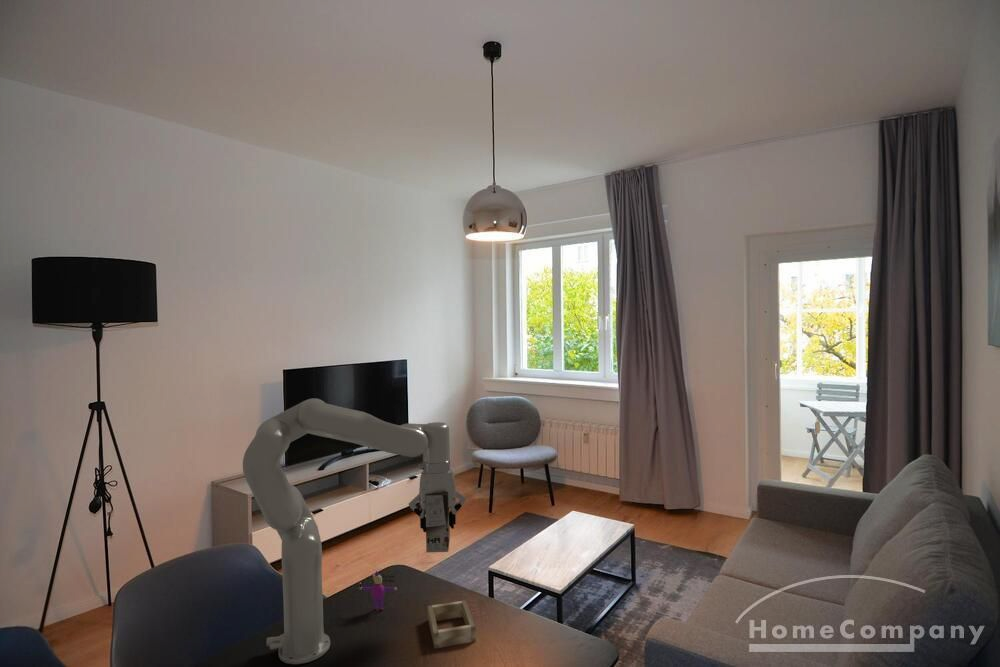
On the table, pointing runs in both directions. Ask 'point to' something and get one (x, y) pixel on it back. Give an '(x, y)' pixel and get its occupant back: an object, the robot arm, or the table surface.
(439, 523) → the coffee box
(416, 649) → the table surface
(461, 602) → the open wooden box
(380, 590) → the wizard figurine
